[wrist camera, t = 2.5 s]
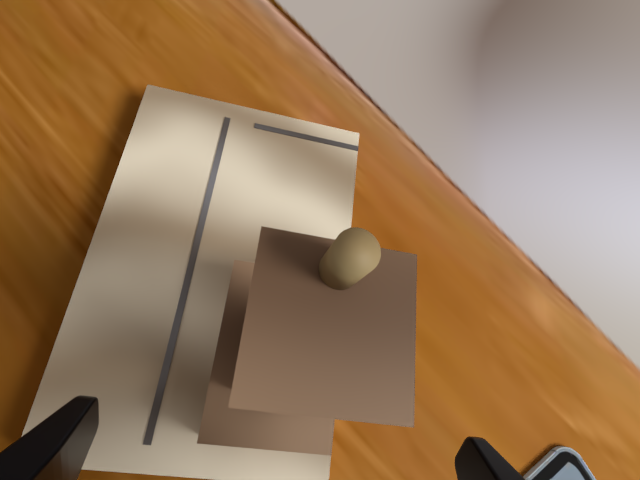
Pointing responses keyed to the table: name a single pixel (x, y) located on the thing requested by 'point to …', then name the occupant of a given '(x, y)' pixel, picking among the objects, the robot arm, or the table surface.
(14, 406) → the table surface
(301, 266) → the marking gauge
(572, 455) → the smartphone
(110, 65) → the table surface
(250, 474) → the birch board
